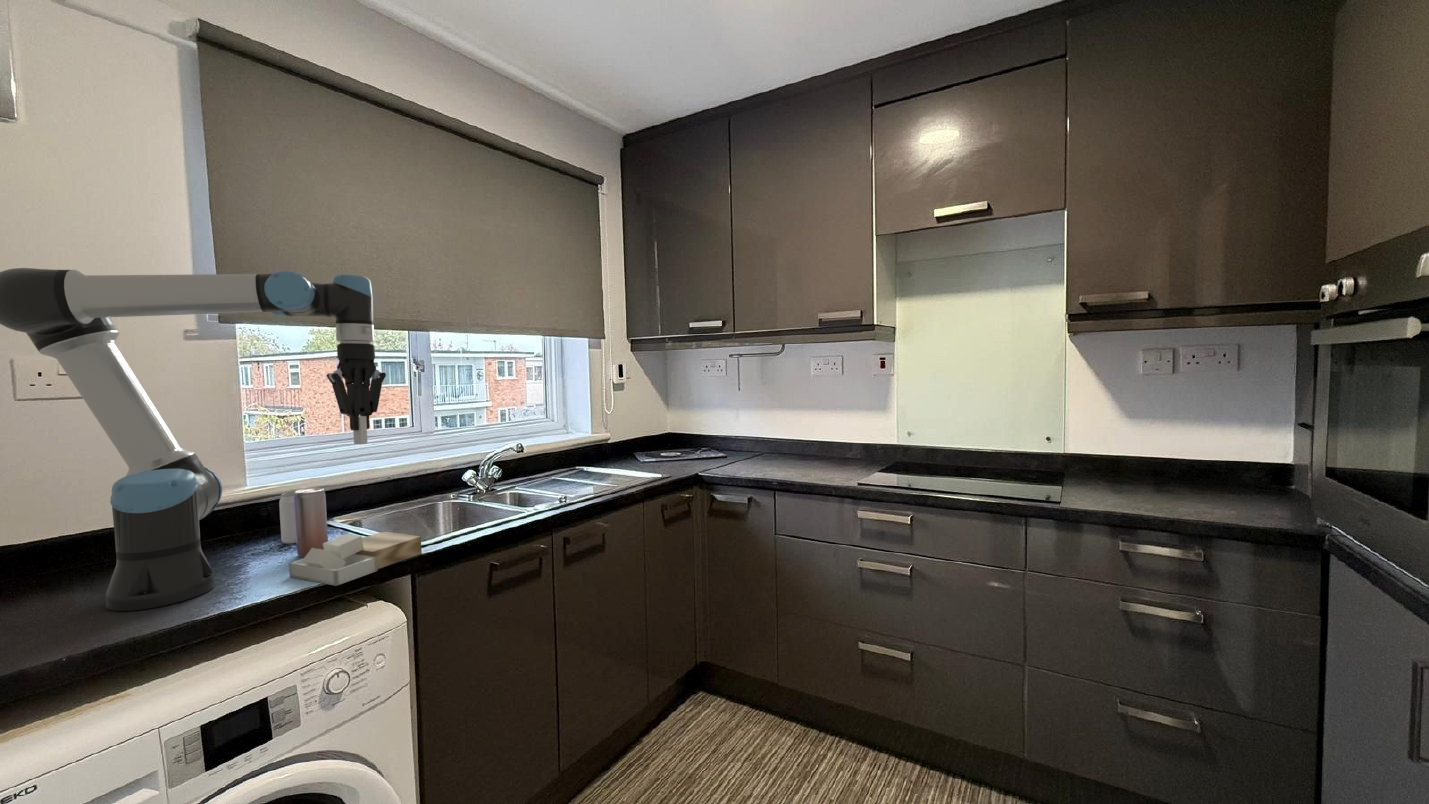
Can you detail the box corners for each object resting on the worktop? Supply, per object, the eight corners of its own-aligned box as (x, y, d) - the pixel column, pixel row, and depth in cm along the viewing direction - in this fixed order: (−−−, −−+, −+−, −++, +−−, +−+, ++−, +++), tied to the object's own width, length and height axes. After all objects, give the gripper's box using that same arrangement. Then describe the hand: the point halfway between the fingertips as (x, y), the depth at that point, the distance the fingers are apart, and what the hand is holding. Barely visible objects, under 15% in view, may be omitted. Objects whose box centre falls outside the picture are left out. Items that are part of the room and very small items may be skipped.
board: (374, 570, 124) (373, 551, 124) (335, 563, 128) (334, 546, 128) (421, 553, 135) (420, 536, 135) (384, 548, 140) (383, 531, 139)
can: (296, 544, 143) (293, 496, 142) (274, 543, 144) (272, 495, 144) (319, 537, 149) (316, 491, 149) (298, 536, 151) (295, 490, 150)
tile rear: (341, 559, 121) (339, 545, 120) (325, 557, 123) (322, 543, 122) (363, 549, 125) (361, 536, 125) (347, 547, 127) (345, 534, 127)
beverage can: (291, 556, 134) (287, 492, 133) (317, 548, 140) (313, 487, 139) (308, 559, 132) (304, 493, 131) (334, 551, 137) (331, 488, 136)
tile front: (346, 562, 122) (336, 575, 120) (329, 559, 123) (319, 572, 121) (328, 550, 118) (318, 563, 116) (311, 547, 120) (301, 561, 118)
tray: (336, 585, 115) (335, 571, 115) (289, 577, 120) (289, 562, 120) (377, 570, 124) (376, 557, 123) (332, 563, 129) (331, 550, 129)
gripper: (337, 341, 128) (343, 448, 130) (392, 343, 140) (396, 441, 141) (316, 342, 131) (322, 446, 133) (372, 344, 143) (376, 439, 145)
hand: (360, 443), depth 137 cm, fingers closed
